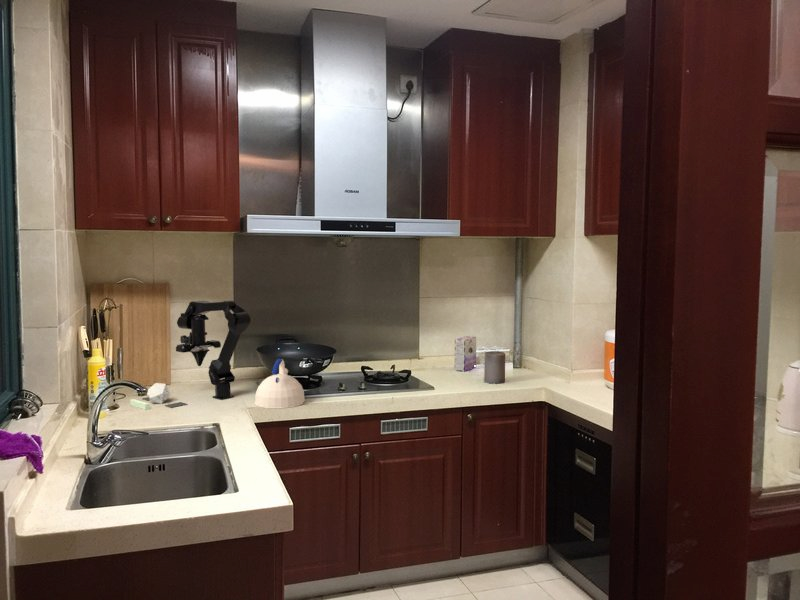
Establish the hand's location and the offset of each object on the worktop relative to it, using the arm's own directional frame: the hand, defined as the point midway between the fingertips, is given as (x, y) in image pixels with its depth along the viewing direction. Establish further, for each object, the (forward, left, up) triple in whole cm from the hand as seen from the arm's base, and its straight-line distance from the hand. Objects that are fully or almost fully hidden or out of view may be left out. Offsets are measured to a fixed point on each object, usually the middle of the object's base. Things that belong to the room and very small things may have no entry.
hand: (199, 366), depth 278 cm
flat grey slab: (-2, +22, -12) cm, 25 cm away
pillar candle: (-85, -102, -12) cm, 133 cm away
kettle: (-39, -12, -12) cm, 43 cm away
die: (-1, +20, -12) cm, 23 cm away
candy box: (-57, -119, -12) cm, 133 cm away
